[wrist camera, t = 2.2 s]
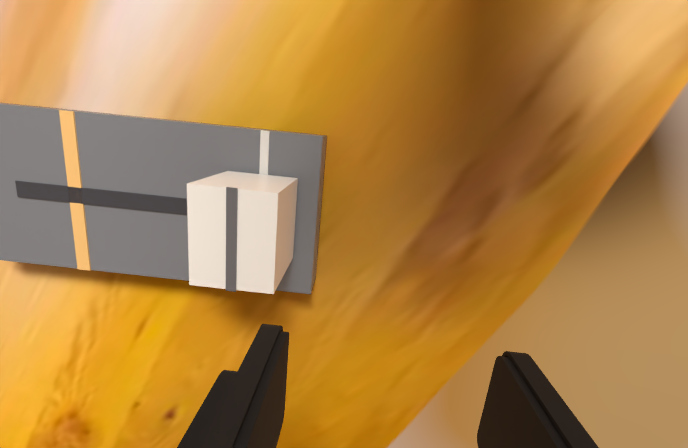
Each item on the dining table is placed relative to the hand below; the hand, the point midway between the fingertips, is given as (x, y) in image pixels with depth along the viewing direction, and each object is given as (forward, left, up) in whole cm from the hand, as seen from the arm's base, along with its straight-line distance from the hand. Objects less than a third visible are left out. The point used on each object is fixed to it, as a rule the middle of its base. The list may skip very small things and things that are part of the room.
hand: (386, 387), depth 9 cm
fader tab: (+8, 0, -16) cm, 18 cm away
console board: (+17, 0, -20) cm, 26 cm away
